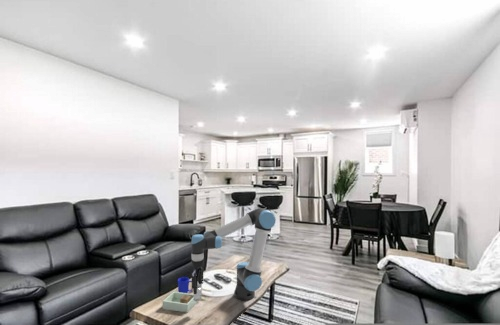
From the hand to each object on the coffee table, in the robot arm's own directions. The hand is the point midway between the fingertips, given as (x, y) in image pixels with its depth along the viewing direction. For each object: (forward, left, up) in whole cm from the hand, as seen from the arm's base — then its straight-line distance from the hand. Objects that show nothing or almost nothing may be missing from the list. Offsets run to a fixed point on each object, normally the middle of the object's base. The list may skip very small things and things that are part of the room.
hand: (197, 296), depth 167 cm
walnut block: (+12, -6, -10) cm, 16 cm away
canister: (0, 0, -2) cm, 2 cm away
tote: (+15, -6, -11) cm, 19 cm away
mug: (+20, -23, -11) cm, 32 cm away
